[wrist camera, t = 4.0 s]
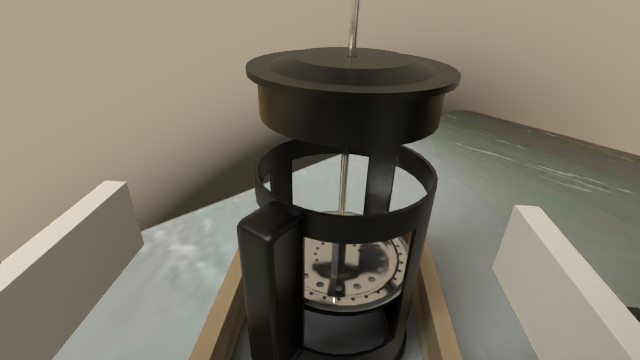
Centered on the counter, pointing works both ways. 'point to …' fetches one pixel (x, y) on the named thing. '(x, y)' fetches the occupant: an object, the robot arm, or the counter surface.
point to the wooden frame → (427, 302)
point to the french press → (339, 226)
